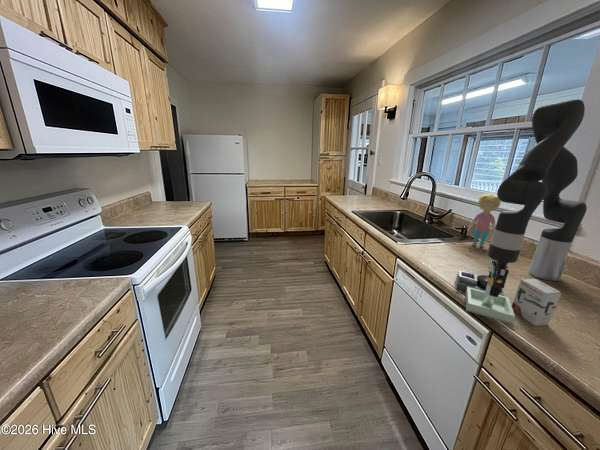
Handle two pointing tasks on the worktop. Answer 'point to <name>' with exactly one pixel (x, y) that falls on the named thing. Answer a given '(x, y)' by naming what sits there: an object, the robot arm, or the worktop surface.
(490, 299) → the pin
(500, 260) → the robot arm
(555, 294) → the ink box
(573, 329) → the worktop surface
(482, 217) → the toy
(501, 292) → the tensioner block
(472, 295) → the tray
